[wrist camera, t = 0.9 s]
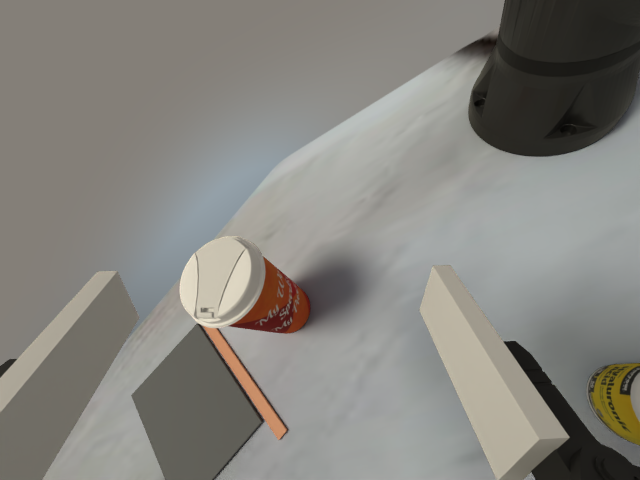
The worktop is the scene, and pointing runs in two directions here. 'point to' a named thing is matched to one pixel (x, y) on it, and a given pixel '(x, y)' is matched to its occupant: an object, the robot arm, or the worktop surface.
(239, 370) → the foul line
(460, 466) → the worktop surface
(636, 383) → the supplement bottle
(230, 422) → the mat
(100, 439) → the worktop surface
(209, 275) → the paper cup
